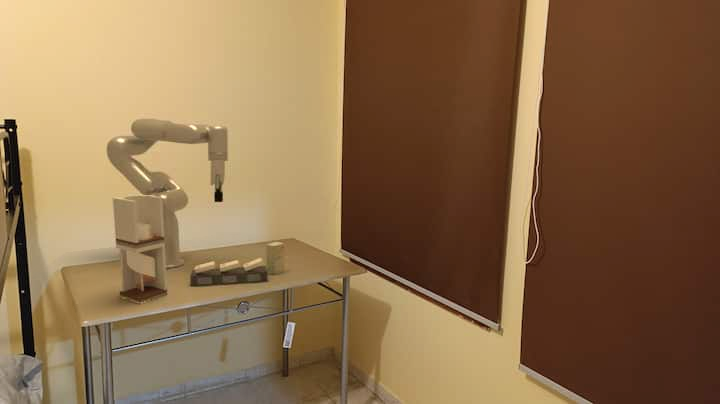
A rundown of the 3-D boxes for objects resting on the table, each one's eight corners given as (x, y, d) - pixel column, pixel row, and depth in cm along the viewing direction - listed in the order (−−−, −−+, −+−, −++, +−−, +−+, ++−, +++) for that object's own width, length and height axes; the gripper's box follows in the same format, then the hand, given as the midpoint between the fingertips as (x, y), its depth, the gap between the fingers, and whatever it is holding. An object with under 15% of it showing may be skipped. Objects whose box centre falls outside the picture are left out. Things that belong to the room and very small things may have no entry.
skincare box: (274, 275, 191) (274, 246, 189) (266, 273, 194) (265, 244, 192) (284, 271, 197) (284, 242, 195) (276, 269, 199) (276, 241, 197)
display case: (119, 297, 165) (112, 198, 159) (147, 288, 174) (141, 194, 168) (139, 304, 159) (133, 201, 154) (167, 294, 168) (162, 197, 162)
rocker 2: (245, 271, 183) (243, 267, 182) (245, 267, 187) (243, 264, 187) (262, 264, 184) (261, 260, 184) (262, 261, 188) (260, 257, 188)
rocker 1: (195, 273, 178) (194, 268, 178) (196, 269, 183) (195, 265, 182) (214, 268, 180) (213, 264, 179) (215, 265, 184) (214, 260, 184)
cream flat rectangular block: (220, 271, 181) (219, 267, 180) (221, 268, 185) (219, 264, 184) (239, 267, 182) (238, 262, 182) (239, 263, 186) (238, 259, 186)
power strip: (190, 286, 177) (190, 275, 176) (192, 279, 185) (192, 269, 184) (267, 281, 183) (267, 271, 183) (266, 275, 191) (266, 264, 191)
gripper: (209, 155, 198) (210, 198, 201) (206, 158, 183) (207, 205, 186) (228, 155, 199) (228, 198, 202) (227, 158, 185) (227, 204, 188)
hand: (218, 201), depth 194 cm, fingers closed
